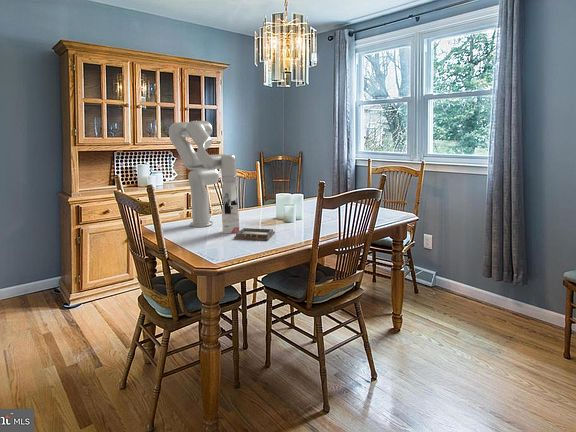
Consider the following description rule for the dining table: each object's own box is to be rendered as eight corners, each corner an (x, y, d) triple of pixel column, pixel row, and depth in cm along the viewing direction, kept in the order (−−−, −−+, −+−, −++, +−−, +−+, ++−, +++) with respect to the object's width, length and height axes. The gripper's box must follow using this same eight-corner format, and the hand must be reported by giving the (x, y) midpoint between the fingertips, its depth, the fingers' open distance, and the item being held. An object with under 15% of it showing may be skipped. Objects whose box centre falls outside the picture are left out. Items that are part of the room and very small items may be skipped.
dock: (243, 231, 224) (243, 226, 223) (274, 233, 221) (274, 227, 220) (234, 239, 210) (233, 233, 209) (267, 240, 206) (267, 234, 206)
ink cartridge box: (238, 230, 228) (237, 203, 225) (239, 232, 223) (238, 205, 220) (222, 231, 226) (221, 204, 223) (222, 233, 221) (221, 205, 218)
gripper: (227, 177, 228) (229, 209, 231) (216, 181, 211) (218, 215, 214) (241, 177, 226) (243, 209, 229) (230, 181, 209) (232, 215, 213)
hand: (231, 212), depth 222 cm, fingers open, 9 cm apart
